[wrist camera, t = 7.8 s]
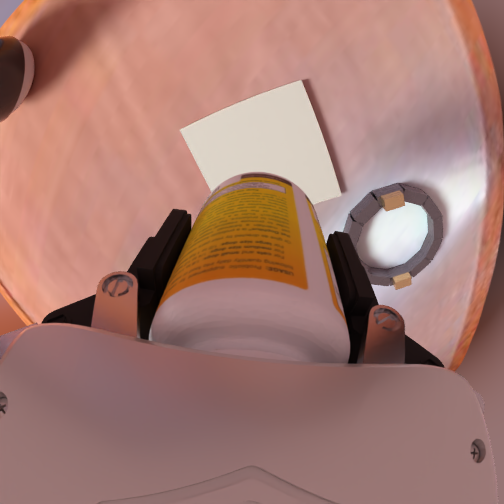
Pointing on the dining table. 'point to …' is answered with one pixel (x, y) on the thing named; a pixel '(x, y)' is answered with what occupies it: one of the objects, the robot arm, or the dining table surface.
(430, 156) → the dining table surface
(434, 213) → the collar
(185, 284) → the supplement bottle
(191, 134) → the coaster
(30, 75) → the pump dispenser
